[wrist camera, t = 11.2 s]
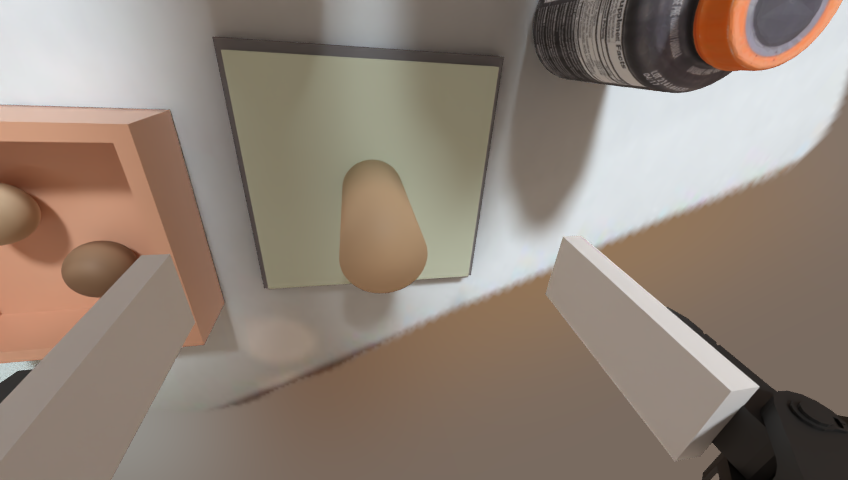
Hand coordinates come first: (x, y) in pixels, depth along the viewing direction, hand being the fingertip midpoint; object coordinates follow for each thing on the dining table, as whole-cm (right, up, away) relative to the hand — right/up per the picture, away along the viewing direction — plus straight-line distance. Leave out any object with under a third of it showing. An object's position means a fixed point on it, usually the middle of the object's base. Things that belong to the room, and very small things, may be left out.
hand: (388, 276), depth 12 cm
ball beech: (-20, +3, +5) cm, 21 cm away
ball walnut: (-17, 0, +7) cm, 18 cm away
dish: (-19, +2, +8) cm, 21 cm away
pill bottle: (+10, +14, +8) cm, 19 cm away
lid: (-2, +5, +9) cm, 11 cm away
